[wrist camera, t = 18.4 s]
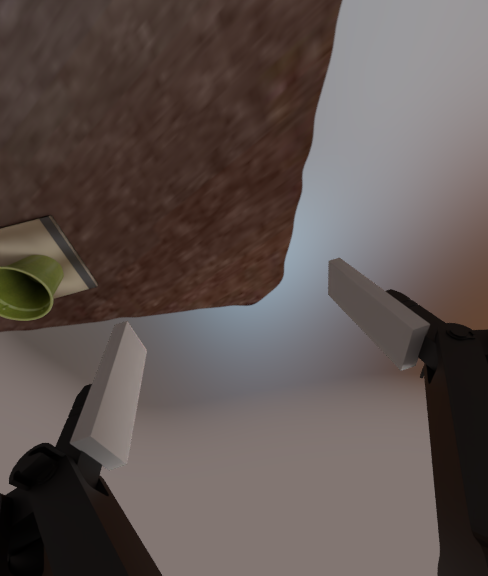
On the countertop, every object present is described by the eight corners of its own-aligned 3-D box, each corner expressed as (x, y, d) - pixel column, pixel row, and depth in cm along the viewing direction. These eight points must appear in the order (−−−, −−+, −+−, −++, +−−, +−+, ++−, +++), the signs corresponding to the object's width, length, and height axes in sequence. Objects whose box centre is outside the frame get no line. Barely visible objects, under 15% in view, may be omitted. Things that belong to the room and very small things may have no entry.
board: (-25, 234, 37) (-29, 236, 36) (51, 215, 38) (48, 216, 37) (36, 301, 45) (34, 304, 44) (98, 284, 46) (96, 286, 45)
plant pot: (-2, 270, 40) (-42, 298, 33) (29, 233, 38) (-7, 254, 31) (55, 300, 45) (31, 329, 38) (85, 268, 43) (65, 293, 36)
